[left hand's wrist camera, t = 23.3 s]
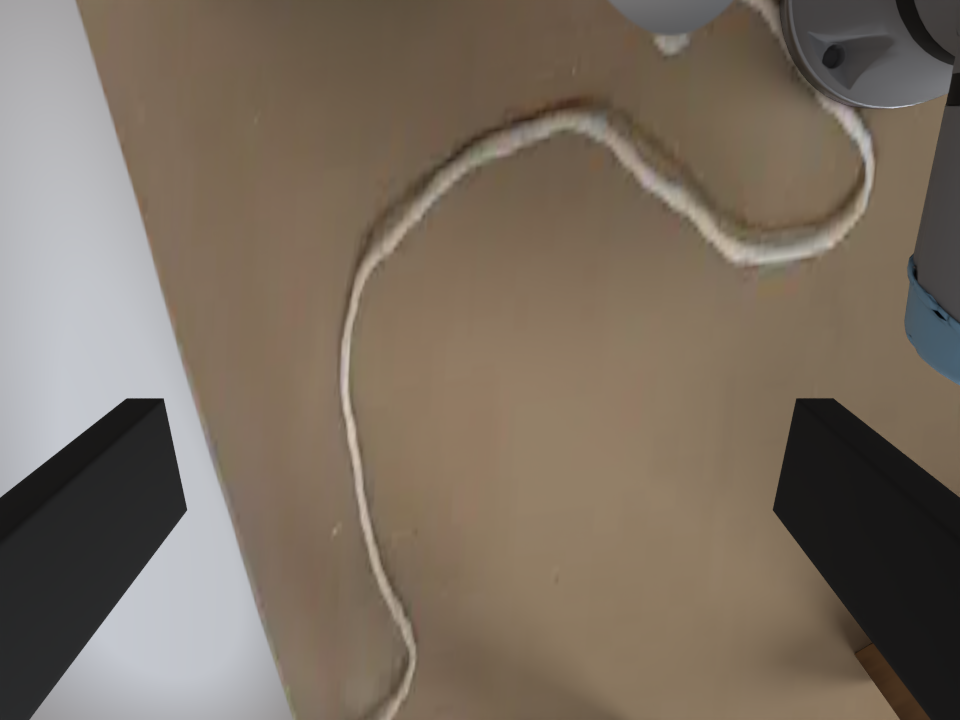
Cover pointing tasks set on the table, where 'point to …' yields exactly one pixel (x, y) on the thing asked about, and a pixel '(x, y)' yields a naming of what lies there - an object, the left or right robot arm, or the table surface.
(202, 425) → the table surface
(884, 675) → the bar
